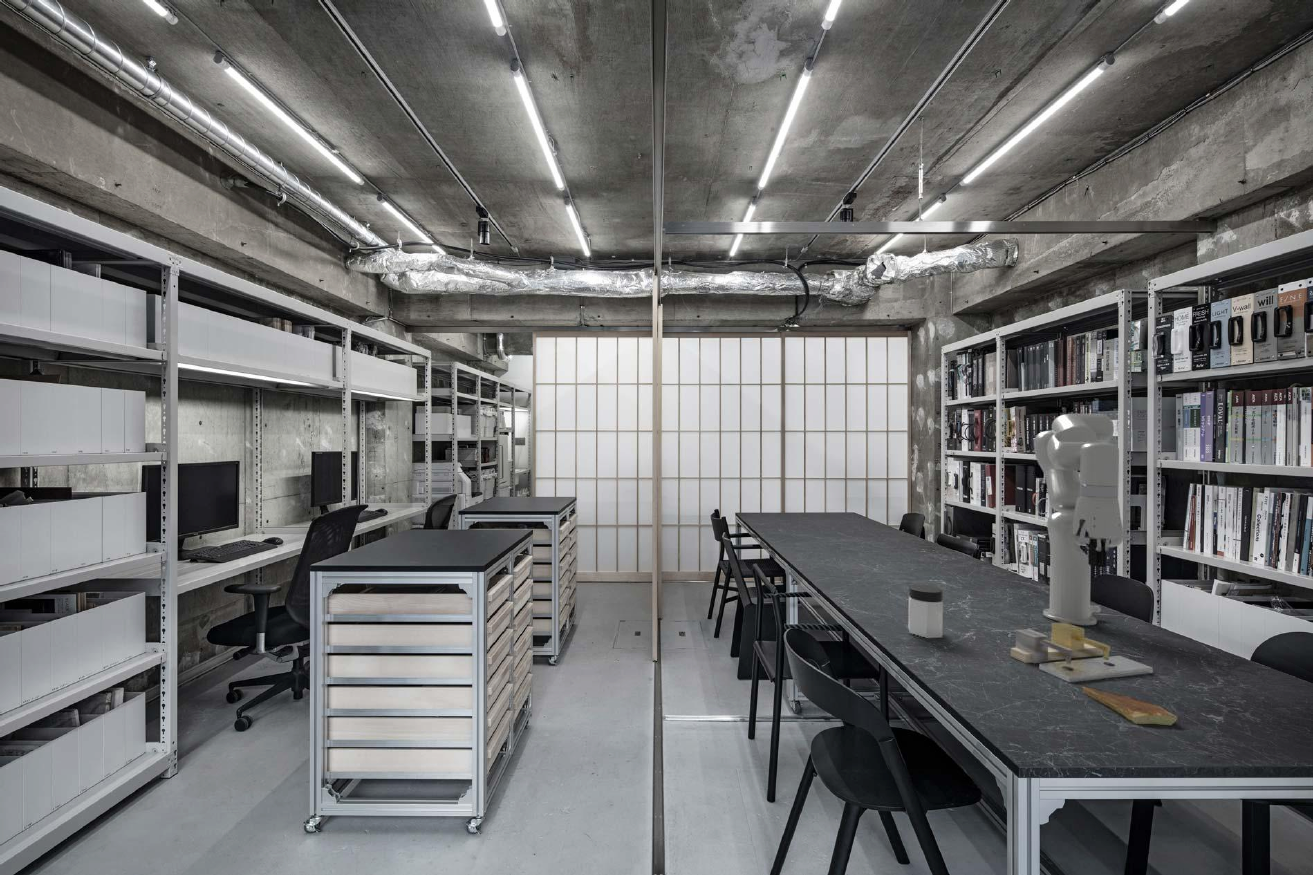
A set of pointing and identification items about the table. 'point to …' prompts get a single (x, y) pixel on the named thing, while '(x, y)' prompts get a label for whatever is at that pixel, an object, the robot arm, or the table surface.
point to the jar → (925, 611)
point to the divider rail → (1046, 649)
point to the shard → (1132, 707)
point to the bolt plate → (1095, 668)
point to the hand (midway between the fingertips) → (1097, 565)
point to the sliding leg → (1074, 638)
